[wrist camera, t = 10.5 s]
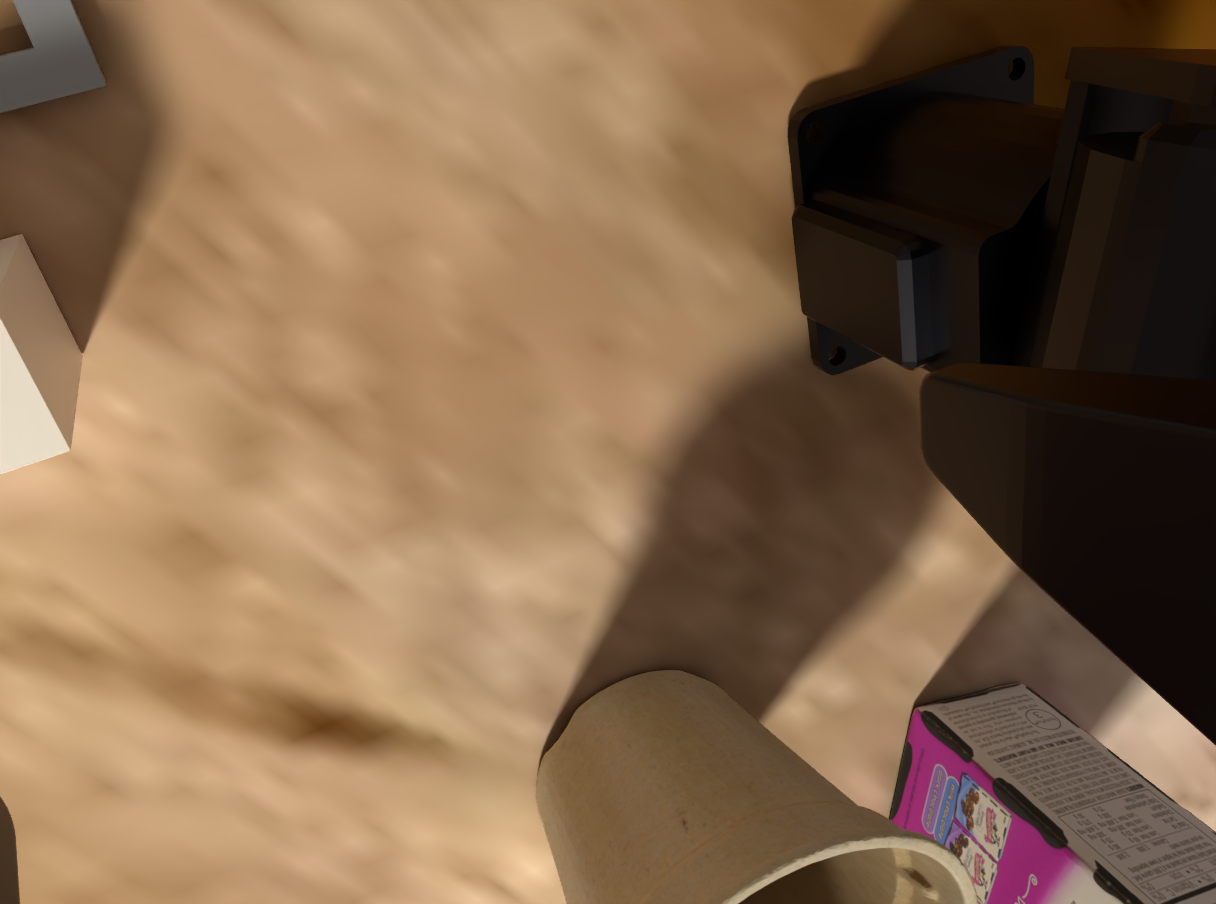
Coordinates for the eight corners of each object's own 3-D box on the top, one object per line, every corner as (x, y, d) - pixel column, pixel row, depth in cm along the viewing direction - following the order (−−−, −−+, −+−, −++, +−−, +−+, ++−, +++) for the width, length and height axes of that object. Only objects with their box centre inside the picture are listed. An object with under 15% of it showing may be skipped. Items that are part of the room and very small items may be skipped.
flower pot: (696, 547, 27) (901, 760, 20) (827, 738, 32) (1027, 963, 25) (408, 775, 26) (512, 1080, 19) (589, 933, 31) (724, 1221, 24)
